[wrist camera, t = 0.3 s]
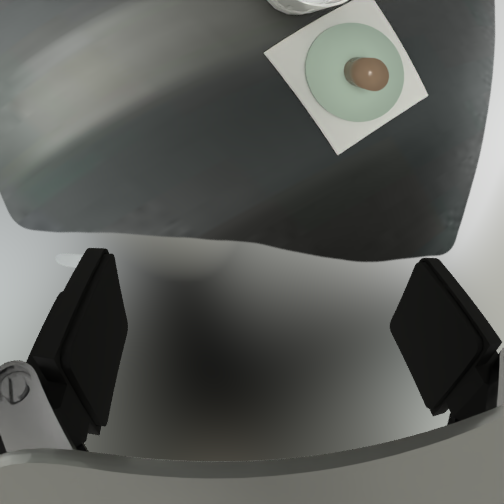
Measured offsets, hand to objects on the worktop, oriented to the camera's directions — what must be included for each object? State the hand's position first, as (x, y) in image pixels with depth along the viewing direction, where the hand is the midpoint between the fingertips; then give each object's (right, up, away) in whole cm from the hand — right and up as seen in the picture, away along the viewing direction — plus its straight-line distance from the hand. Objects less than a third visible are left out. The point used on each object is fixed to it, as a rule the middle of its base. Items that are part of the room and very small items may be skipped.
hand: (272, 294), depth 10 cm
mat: (+11, +22, +22) cm, 33 cm away
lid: (+11, +22, +22) cm, 33 cm away
